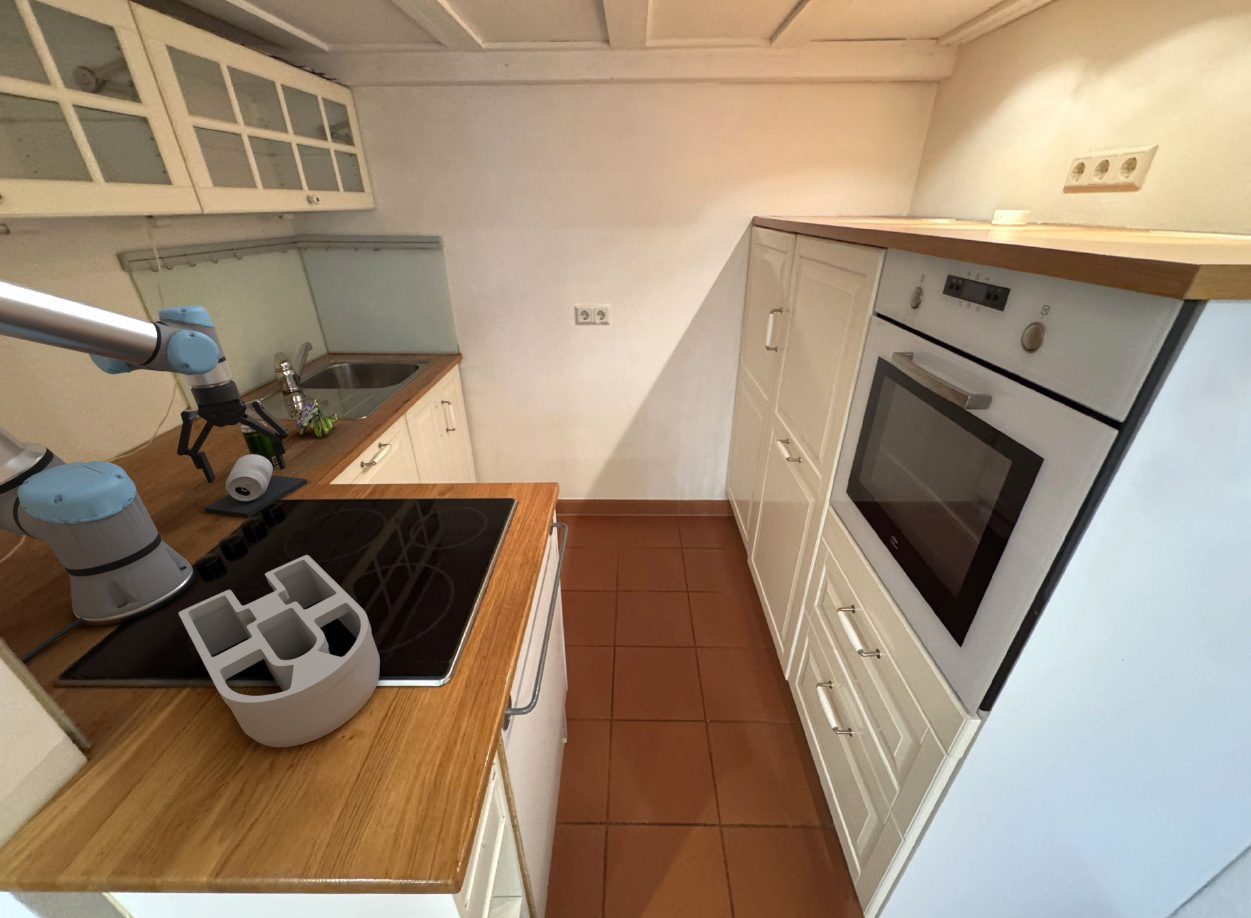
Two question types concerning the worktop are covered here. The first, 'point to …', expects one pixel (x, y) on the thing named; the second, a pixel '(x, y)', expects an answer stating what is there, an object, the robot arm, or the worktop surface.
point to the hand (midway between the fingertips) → (248, 473)
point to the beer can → (259, 444)
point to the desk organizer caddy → (288, 654)
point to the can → (249, 477)
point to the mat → (274, 491)
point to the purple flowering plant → (309, 415)
